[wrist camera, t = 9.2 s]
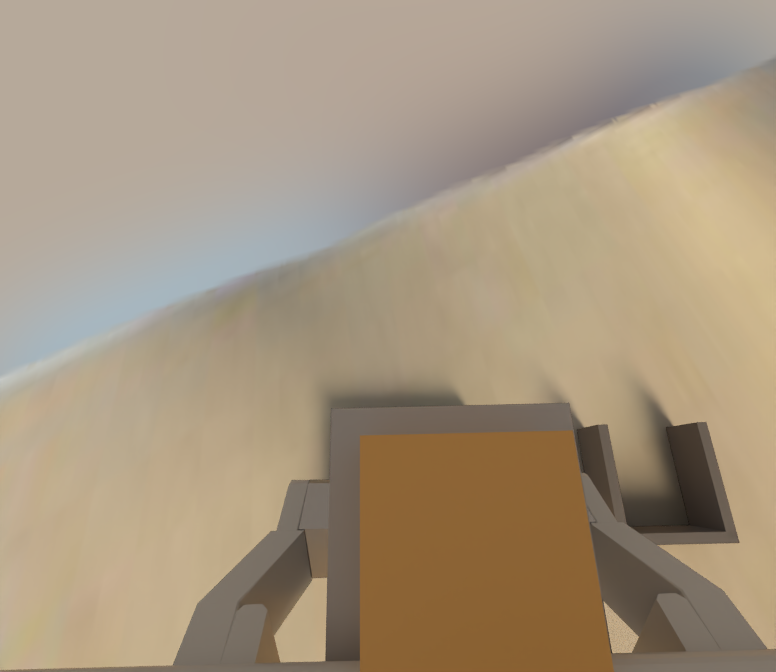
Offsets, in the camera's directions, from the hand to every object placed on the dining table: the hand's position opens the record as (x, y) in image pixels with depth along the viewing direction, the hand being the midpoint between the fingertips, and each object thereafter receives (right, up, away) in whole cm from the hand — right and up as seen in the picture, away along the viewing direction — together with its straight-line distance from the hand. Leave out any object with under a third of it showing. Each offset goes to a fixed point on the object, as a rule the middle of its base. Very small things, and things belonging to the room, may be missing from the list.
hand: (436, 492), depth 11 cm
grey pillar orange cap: (0, -3, +6) cm, 7 cm away
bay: (+18, -7, +20) cm, 28 cm away
